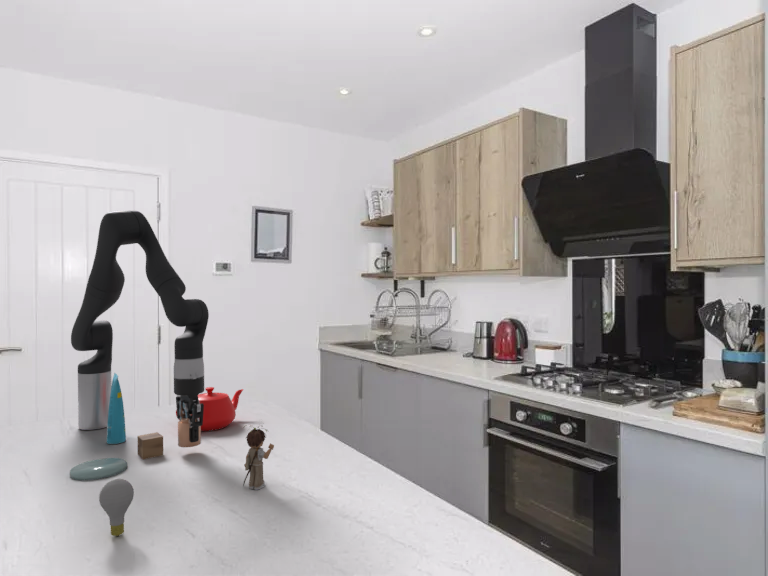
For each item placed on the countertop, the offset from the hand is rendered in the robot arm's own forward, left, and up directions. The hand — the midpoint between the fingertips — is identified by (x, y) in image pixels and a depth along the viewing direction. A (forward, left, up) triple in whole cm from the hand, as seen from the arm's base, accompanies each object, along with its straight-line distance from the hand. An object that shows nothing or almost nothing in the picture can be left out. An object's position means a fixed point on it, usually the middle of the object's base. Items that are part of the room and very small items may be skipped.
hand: (189, 438), depth 135 cm
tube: (-24, -12, -4) cm, 27 cm away
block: (-6, -8, -4) cm, 11 cm away
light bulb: (+36, -26, -4) cm, 45 cm away
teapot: (-22, +15, -4) cm, 27 cm away
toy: (+32, +3, -4) cm, 32 cm away
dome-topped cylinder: (0, 0, -1) cm, 1 cm away
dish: (-2, -21, -4) cm, 21 cm away
